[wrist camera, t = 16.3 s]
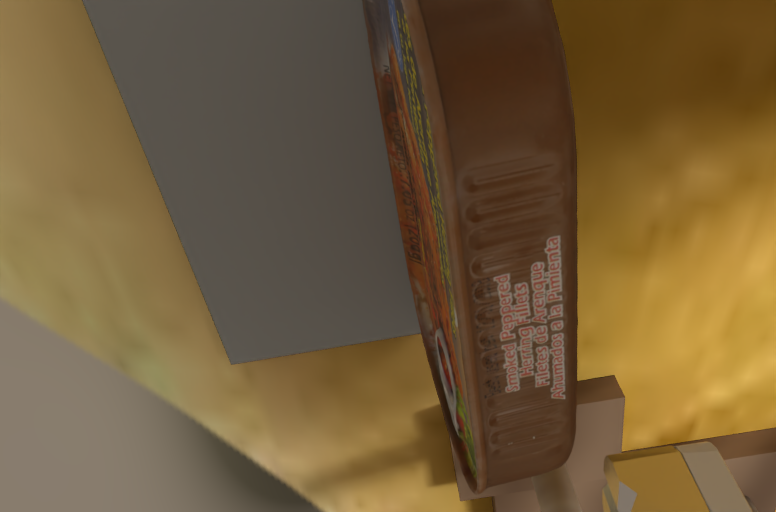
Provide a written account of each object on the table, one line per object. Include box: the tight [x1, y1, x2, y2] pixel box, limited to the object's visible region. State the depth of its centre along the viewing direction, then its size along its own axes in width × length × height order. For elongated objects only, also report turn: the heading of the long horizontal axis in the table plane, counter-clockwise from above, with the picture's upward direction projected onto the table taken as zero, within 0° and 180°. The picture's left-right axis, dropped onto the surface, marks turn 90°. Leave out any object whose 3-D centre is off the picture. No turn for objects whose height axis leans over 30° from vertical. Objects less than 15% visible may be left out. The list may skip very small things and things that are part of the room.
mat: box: [82, 0, 421, 365], centre depth 20 cm, size 10×14×1 cm
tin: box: [362, 0, 578, 495], centre depth 17 cm, size 15×3×8 cm, turn 9°
